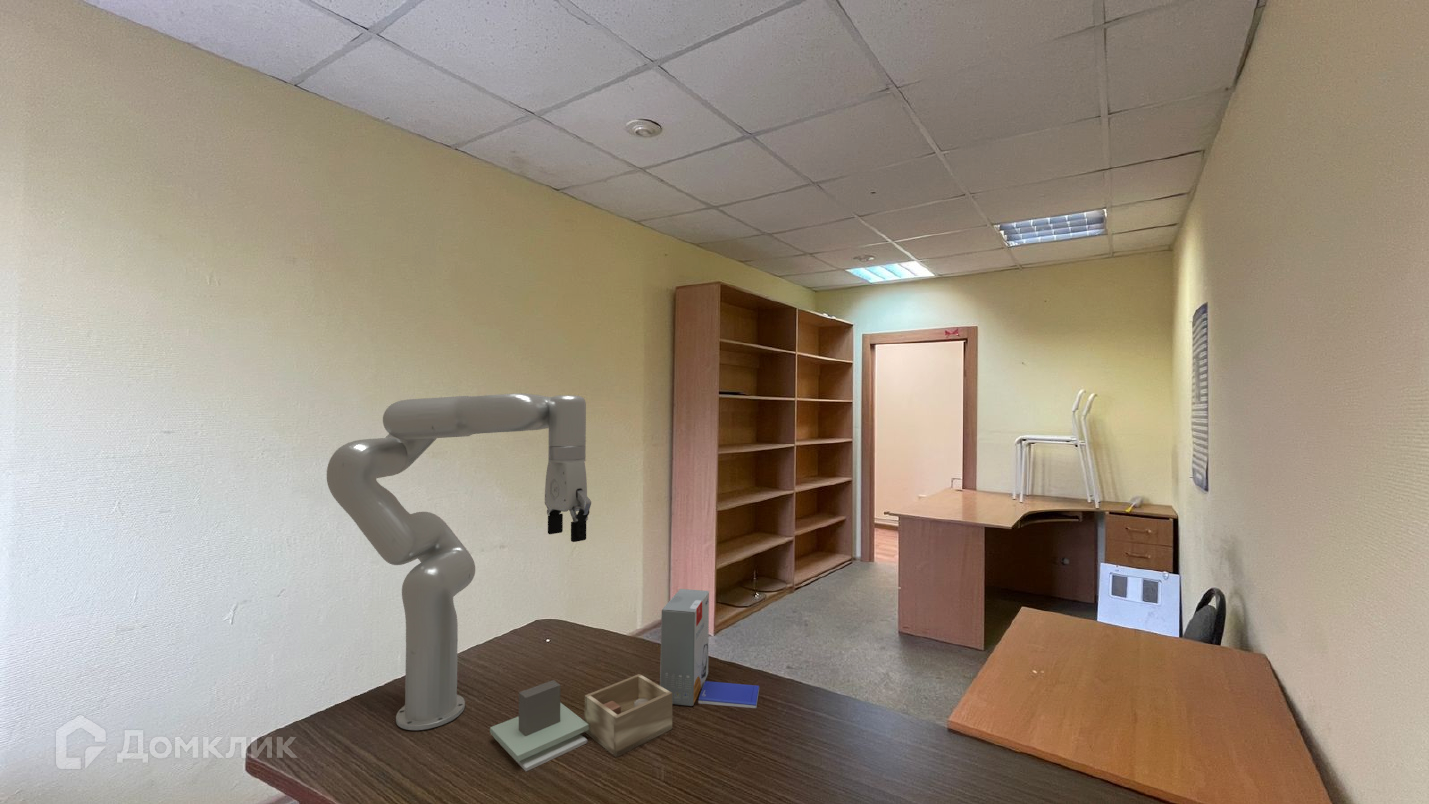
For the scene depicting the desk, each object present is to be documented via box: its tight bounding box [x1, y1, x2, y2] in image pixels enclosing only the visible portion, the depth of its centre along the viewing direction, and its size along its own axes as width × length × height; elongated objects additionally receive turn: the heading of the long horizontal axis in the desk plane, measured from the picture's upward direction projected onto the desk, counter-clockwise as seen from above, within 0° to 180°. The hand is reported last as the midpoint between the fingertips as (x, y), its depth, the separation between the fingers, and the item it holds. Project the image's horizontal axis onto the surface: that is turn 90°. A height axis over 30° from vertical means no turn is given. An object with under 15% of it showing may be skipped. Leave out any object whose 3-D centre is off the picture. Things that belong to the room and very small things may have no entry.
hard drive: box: [698, 680, 760, 709], centre depth 120 cm, size 2×8×12 cm
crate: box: [584, 673, 673, 758], centre depth 107 cm, size 11×13×7 cm
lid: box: [489, 679, 589, 763], centre depth 104 cm, size 12×14×9 cm
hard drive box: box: [659, 588, 710, 707], centre depth 124 cm, size 16×8×20 cm, turn 168°
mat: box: [492, 733, 588, 772], centre depth 104 cm, size 14×12×1 cm
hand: (566, 536), depth 114 cm, fingers open, 9 cm apart
